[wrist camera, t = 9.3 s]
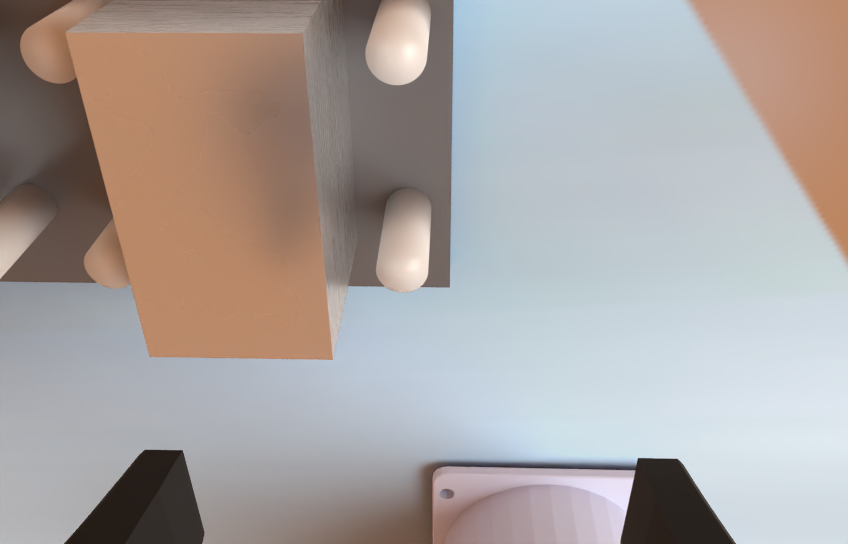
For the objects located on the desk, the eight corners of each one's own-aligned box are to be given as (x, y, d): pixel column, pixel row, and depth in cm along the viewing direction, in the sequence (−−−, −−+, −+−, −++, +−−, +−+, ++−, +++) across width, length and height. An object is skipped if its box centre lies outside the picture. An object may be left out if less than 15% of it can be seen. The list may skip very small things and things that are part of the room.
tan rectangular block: (357, 240, 21) (332, 359, 17) (208, 238, 21) (146, 356, 17) (340, -33, 17) (302, 33, 13) (157, -33, 17) (60, 32, 13)
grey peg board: (449, 267, 22) (448, 356, 19) (-188, 259, 23) (-297, 343, 20) (454, -115, 17) (454, -86, 14) (-383, -113, 18) (-580, -83, 14)
